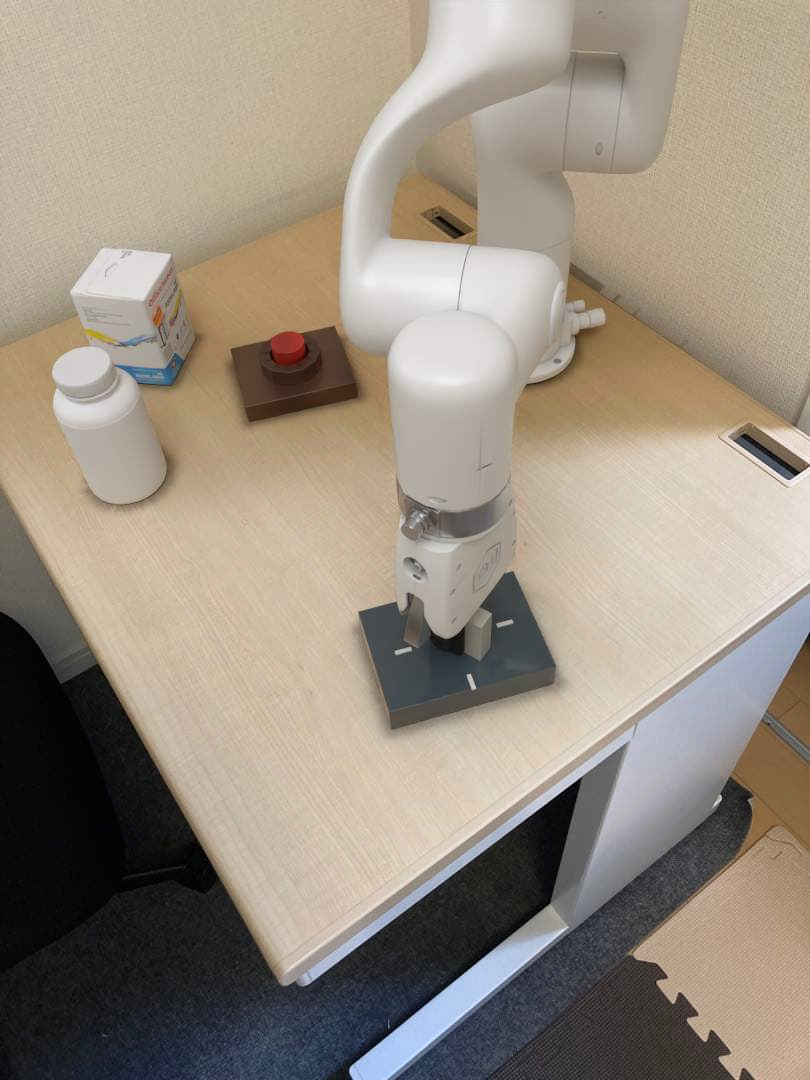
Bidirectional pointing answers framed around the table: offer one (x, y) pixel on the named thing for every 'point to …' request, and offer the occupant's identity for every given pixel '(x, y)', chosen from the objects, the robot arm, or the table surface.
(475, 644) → the beige rectangular block
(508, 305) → the robot arm
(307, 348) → the button block
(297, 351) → the button
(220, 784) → the table surface
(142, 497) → the pill bottle
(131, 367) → the ink box
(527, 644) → the rotary knob panel
